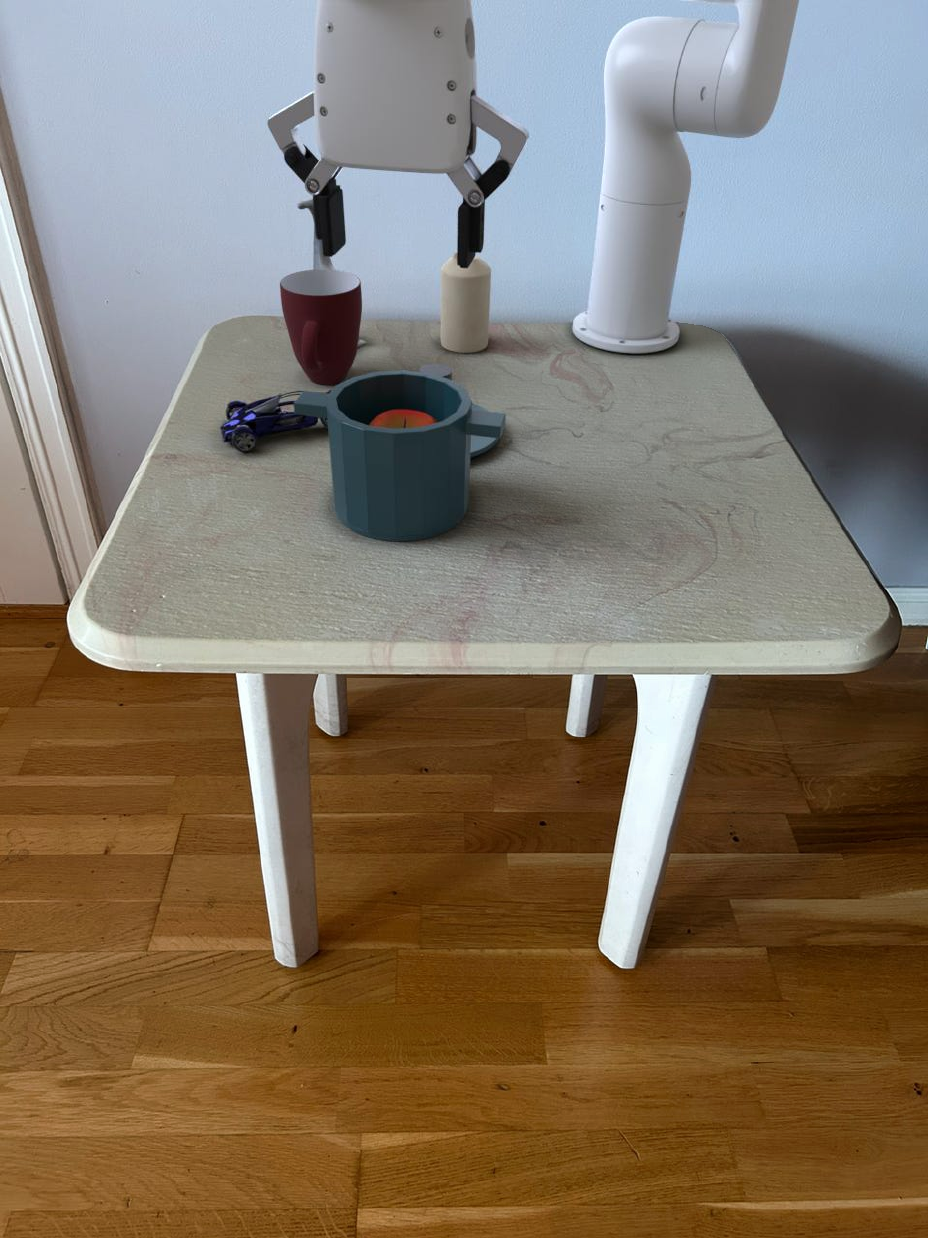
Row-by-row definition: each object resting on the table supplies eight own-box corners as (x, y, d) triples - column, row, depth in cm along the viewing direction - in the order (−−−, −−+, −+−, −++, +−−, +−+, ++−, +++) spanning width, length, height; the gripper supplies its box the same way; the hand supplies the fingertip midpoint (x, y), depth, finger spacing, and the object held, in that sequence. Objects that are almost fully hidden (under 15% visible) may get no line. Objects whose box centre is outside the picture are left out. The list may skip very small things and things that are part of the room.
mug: (361, 404, 90) (356, 305, 84) (281, 403, 90) (269, 304, 84) (367, 362, 99) (363, 269, 92) (294, 361, 98) (285, 268, 92)
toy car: (225, 455, 81) (218, 415, 79) (218, 424, 86) (212, 386, 84) (354, 440, 84) (352, 401, 82) (341, 411, 89) (339, 373, 87)
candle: (495, 349, 102) (499, 259, 96) (450, 355, 101) (451, 264, 94) (477, 332, 106) (480, 245, 100) (433, 338, 105) (433, 249, 98)
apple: (353, 495, 76) (348, 414, 71) (410, 473, 79) (409, 393, 74) (400, 527, 72) (398, 443, 67) (457, 501, 75) (459, 420, 71)
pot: (328, 461, 81) (320, 360, 75) (508, 484, 79) (515, 381, 73) (284, 526, 72) (271, 418, 67) (485, 554, 70) (490, 444, 64)
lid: (389, 401, 91) (387, 338, 87) (509, 415, 89) (513, 351, 85) (353, 458, 82) (349, 390, 77) (487, 475, 80) (490, 406, 76)
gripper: (546, -44, 54) (528, 250, 65) (275, -52, 57) (301, 231, 67) (527, -36, 48) (512, 284, 59) (227, -46, 51) (264, 263, 62)
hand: (400, 256), depth 63 cm, fingers open, 9 cm apart
